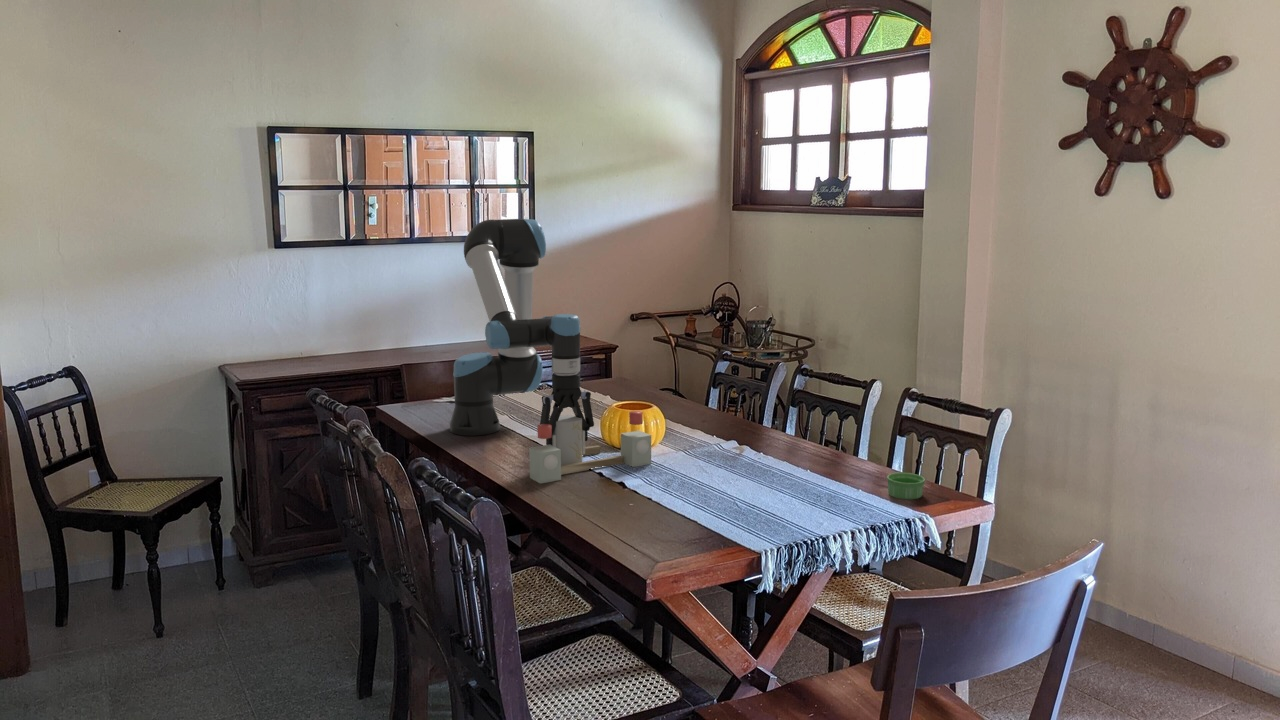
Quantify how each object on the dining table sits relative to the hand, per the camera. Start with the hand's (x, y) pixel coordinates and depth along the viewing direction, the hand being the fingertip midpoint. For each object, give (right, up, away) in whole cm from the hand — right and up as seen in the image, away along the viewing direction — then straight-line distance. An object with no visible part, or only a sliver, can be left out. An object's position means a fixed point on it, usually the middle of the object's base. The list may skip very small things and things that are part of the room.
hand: (567, 455), depth 270 cm
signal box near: (-5, -5, -12) cm, 14 cm away
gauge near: (-5, +6, -14) cm, 16 cm away
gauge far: (+18, +9, 0) cm, 20 cm away
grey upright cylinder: (0, -2, 0) cm, 2 cm away
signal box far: (+19, -2, +3) cm, 19 cm away
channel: (+3, -2, +2) cm, 5 cm away
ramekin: (+85, -8, -25) cm, 89 cm away
